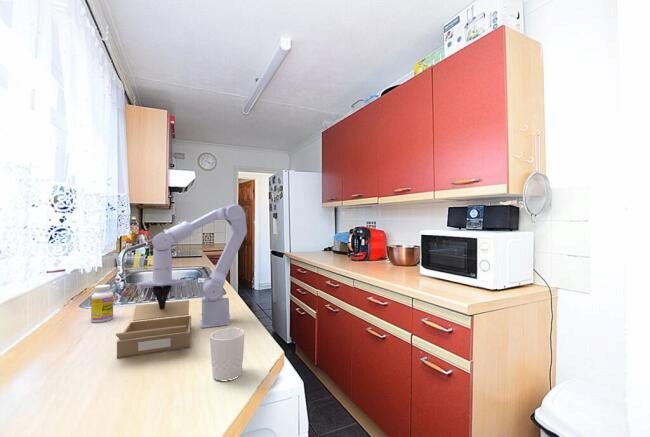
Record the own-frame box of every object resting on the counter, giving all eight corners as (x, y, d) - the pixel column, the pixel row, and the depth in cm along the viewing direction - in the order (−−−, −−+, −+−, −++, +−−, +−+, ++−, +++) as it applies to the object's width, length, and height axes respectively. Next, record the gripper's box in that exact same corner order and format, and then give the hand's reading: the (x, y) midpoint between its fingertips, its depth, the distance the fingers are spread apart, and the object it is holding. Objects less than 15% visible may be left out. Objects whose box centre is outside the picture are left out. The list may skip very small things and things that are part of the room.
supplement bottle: (101, 323, 110) (101, 288, 110) (86, 322, 111) (86, 287, 111) (117, 317, 116) (117, 284, 117) (103, 316, 118) (103, 283, 118)
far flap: (188, 314, 104) (188, 315, 104) (189, 300, 109) (189, 301, 109) (132, 320, 98) (133, 321, 98) (135, 305, 102) (135, 306, 103)
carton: (191, 328, 105) (191, 315, 105) (189, 347, 89) (189, 332, 89) (130, 336, 98) (130, 322, 98) (116, 358, 82) (116, 341, 82)
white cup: (215, 367, 77) (215, 328, 77) (246, 366, 78) (246, 327, 78) (205, 384, 69) (205, 340, 69) (241, 382, 70) (241, 339, 70)
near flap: (185, 325, 84) (185, 326, 84) (186, 330, 89) (186, 331, 89) (115, 333, 78) (115, 335, 78) (120, 338, 83) (120, 340, 83)
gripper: (135, 271, 97) (135, 314, 97) (185, 268, 102) (185, 309, 102) (139, 268, 103) (139, 308, 103) (186, 265, 109) (186, 303, 109)
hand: (162, 308), depth 103 cm, fingers closed
